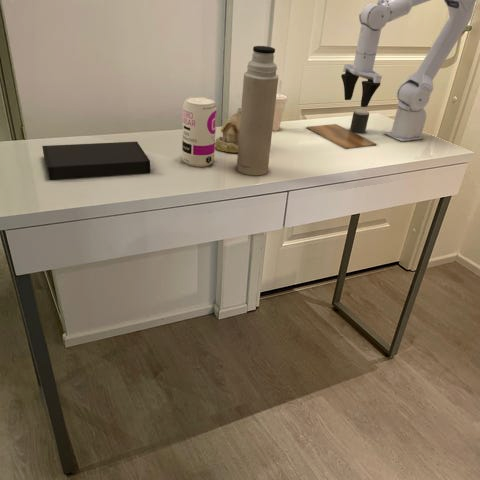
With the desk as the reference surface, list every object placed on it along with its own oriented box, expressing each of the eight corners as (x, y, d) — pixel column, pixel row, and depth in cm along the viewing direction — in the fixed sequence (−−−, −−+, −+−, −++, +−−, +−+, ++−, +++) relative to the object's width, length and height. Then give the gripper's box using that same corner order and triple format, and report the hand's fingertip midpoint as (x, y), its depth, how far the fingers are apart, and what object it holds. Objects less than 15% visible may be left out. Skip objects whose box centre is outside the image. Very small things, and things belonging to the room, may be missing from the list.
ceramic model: (230, 135, 149) (232, 99, 143) (264, 143, 145) (268, 107, 139) (208, 148, 138) (209, 110, 132) (244, 157, 135) (248, 118, 129)
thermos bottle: (230, 167, 128) (238, 44, 111) (251, 161, 133) (263, 42, 116) (252, 177, 124) (264, 51, 107) (274, 171, 129) (289, 49, 112)
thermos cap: (358, 128, 166) (362, 108, 162) (368, 132, 162) (373, 112, 159) (346, 129, 164) (350, 109, 160) (356, 134, 160) (360, 113, 156)
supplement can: (218, 159, 132) (221, 99, 123) (206, 169, 126) (209, 107, 116) (190, 154, 134) (191, 94, 125) (177, 163, 127) (177, 101, 118)
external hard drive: (150, 173, 121) (150, 160, 119) (49, 180, 113) (47, 167, 111) (137, 152, 131) (136, 141, 129) (43, 157, 123) (41, 145, 122)
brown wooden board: (335, 125, 166) (336, 124, 166) (376, 145, 153) (376, 143, 152) (306, 128, 161) (306, 126, 161) (345, 148, 148) (345, 147, 147)
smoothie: (283, 132, 155) (290, 84, 146) (263, 131, 155) (268, 82, 146) (282, 126, 160) (288, 79, 151) (262, 124, 160) (267, 77, 151)
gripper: (339, 48, 147) (330, 97, 155) (372, 58, 137) (361, 110, 145) (357, 48, 150) (348, 96, 158) (391, 58, 140) (379, 109, 148)
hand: (355, 103), depth 152 cm, fingers open, 7 cm apart
